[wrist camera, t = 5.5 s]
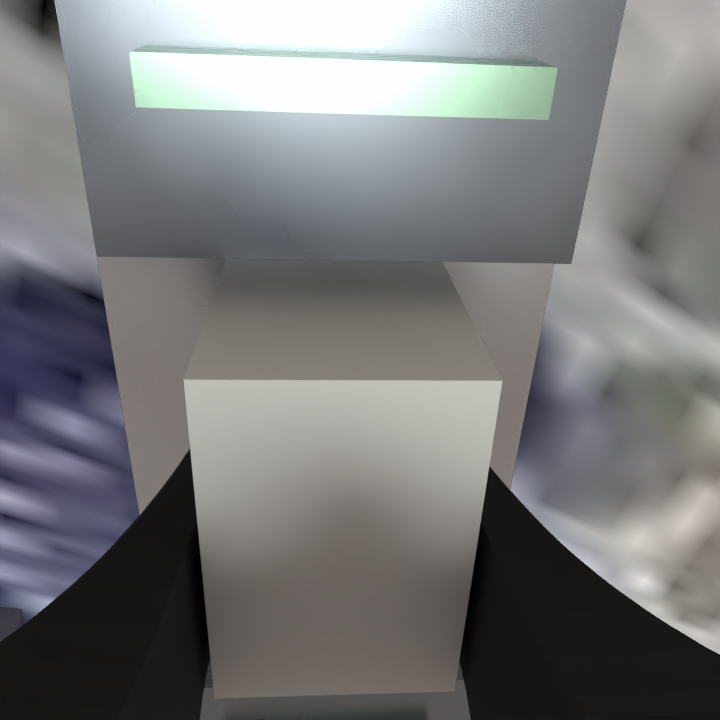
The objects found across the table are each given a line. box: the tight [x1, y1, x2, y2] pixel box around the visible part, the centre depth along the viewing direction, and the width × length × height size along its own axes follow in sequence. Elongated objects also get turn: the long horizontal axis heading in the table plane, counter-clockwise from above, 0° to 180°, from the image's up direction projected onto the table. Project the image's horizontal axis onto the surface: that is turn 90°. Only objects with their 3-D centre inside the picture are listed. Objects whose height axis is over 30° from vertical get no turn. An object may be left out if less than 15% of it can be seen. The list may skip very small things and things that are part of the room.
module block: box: [184, 259, 502, 698], centre depth 13 cm, size 4×6×6 cm, turn 178°
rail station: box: [55, 0, 626, 720], centre depth 14 cm, size 10×24×6 cm, turn 178°
